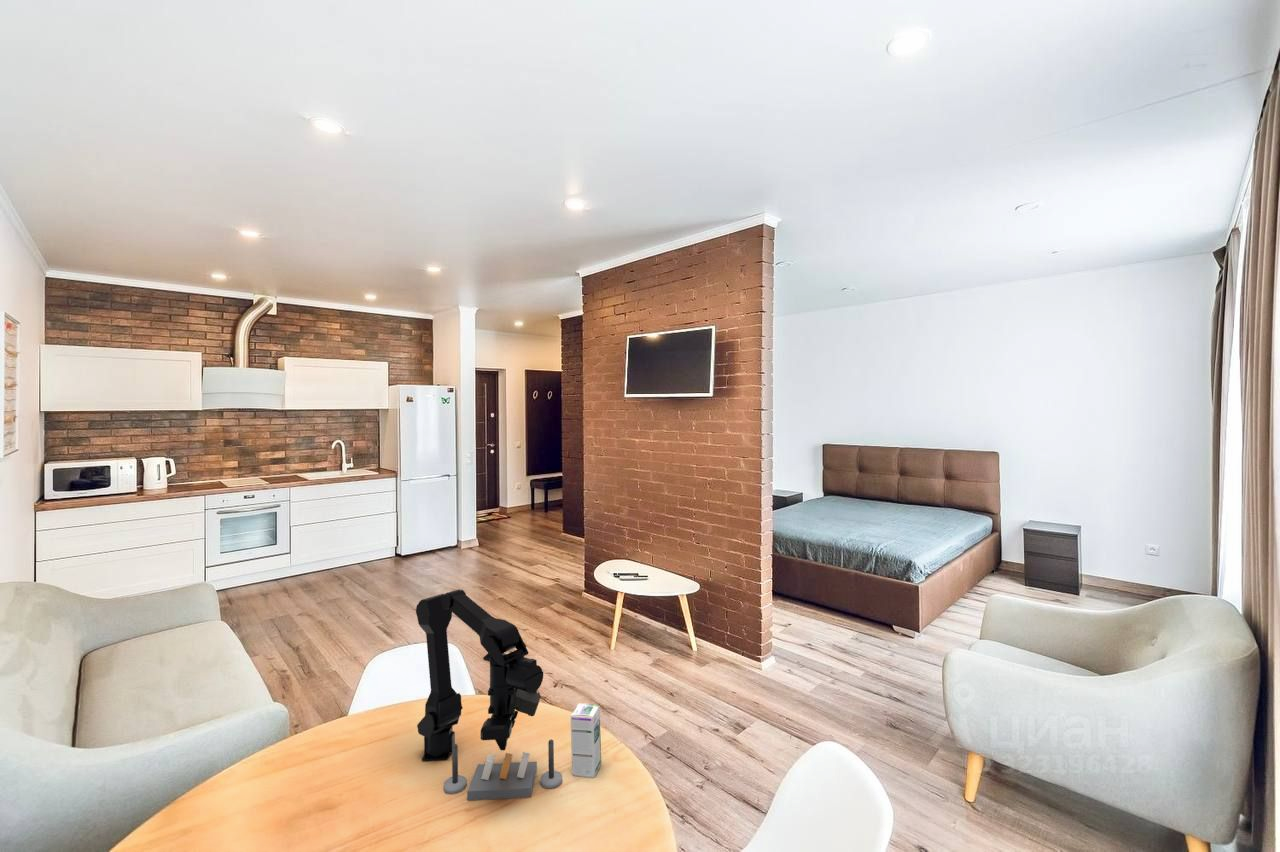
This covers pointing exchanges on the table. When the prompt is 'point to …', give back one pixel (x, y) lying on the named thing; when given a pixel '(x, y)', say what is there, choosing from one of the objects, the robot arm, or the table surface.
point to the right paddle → (523, 765)
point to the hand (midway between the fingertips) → (503, 749)
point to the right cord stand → (551, 771)
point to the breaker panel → (502, 783)
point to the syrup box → (586, 740)
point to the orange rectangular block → (505, 766)
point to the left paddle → (488, 767)
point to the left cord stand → (455, 776)
